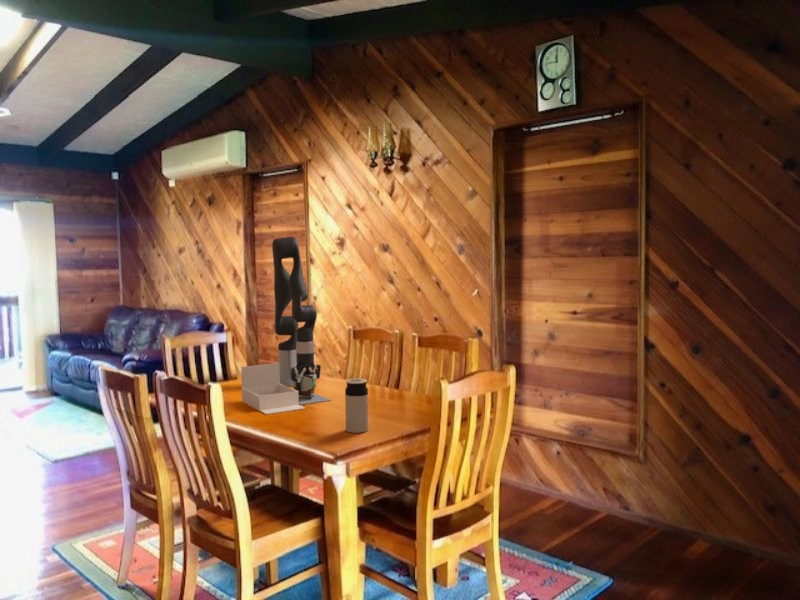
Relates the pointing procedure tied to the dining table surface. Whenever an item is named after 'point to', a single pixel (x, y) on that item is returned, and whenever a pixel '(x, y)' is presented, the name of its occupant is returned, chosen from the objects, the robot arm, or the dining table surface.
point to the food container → (306, 385)
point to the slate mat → (312, 399)
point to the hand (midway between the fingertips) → (305, 389)
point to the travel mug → (356, 405)
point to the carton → (267, 390)
